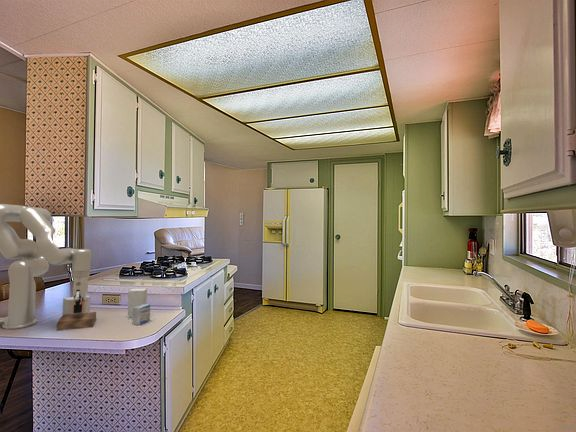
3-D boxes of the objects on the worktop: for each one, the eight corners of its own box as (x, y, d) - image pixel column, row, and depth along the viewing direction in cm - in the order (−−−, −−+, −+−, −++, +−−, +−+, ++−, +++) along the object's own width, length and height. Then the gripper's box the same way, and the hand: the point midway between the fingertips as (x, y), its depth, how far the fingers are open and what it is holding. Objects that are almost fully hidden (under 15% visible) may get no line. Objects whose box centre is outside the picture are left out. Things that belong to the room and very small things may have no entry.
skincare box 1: (83, 313, 162) (84, 294, 162) (89, 315, 159) (90, 296, 159) (61, 318, 153) (62, 298, 153) (67, 320, 150) (69, 299, 150)
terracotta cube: (71, 313, 141) (72, 303, 141) (73, 310, 145) (74, 300, 145) (84, 312, 143) (84, 302, 143) (85, 309, 147) (86, 299, 148)
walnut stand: (56, 330, 135) (57, 321, 135) (62, 322, 146) (63, 314, 146) (92, 326, 142) (93, 318, 142) (95, 319, 152) (96, 311, 152)
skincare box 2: (146, 314, 164) (148, 287, 164) (143, 317, 158) (144, 290, 158) (130, 314, 162) (131, 287, 163) (126, 318, 156) (128, 290, 157)
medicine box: (139, 325, 146) (140, 308, 146) (131, 324, 147) (132, 307, 147) (149, 320, 154) (150, 304, 154) (142, 320, 155) (143, 303, 155)
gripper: (87, 276, 139) (85, 315, 138) (92, 271, 154) (90, 306, 153) (67, 277, 135) (65, 317, 135) (74, 271, 151) (72, 307, 150)
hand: (78, 310), depth 144 cm, fingers closed on terracotta cube, 5 cm apart
